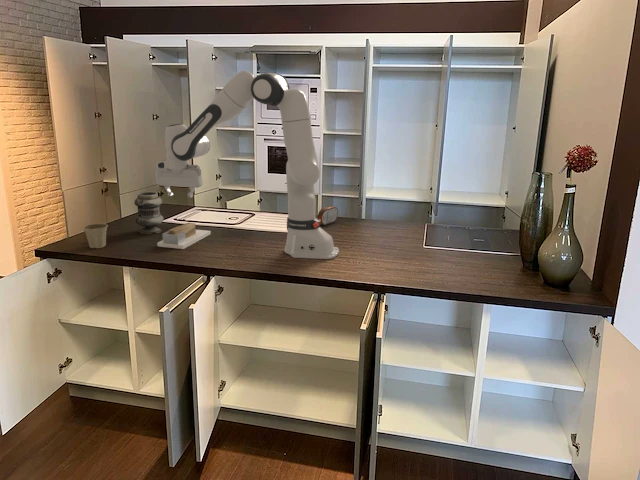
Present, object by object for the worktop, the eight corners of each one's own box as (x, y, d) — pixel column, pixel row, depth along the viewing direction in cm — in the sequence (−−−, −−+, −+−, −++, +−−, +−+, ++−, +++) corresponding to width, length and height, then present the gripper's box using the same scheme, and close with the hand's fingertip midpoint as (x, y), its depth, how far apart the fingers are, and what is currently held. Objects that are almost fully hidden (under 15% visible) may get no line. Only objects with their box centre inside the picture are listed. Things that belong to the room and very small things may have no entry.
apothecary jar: (142, 236, 215) (139, 196, 210) (132, 230, 224) (129, 192, 219) (168, 232, 223) (165, 193, 218) (157, 226, 232) (154, 189, 227)
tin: (333, 220, 251) (334, 204, 249) (338, 221, 249) (339, 205, 247) (316, 225, 239) (316, 209, 237) (321, 226, 237) (322, 210, 235)
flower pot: (79, 248, 198) (77, 227, 195) (97, 242, 206) (95, 222, 204) (97, 251, 194) (95, 230, 192) (114, 244, 203) (112, 224, 201)
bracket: (210, 234, 221) (210, 222, 220) (183, 249, 199) (182, 236, 197) (187, 231, 224) (186, 220, 223) (157, 246, 202) (156, 233, 200)
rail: (195, 234, 215) (195, 223, 214) (176, 242, 202) (175, 231, 201) (189, 233, 216) (188, 222, 215) (169, 241, 204) (168, 230, 202)
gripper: (204, 164, 201) (206, 196, 205) (160, 161, 206) (163, 193, 210) (196, 166, 195) (198, 199, 199) (152, 163, 200) (155, 196, 204)
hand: (180, 196), depth 204 cm, fingers open, 8 cm apart
